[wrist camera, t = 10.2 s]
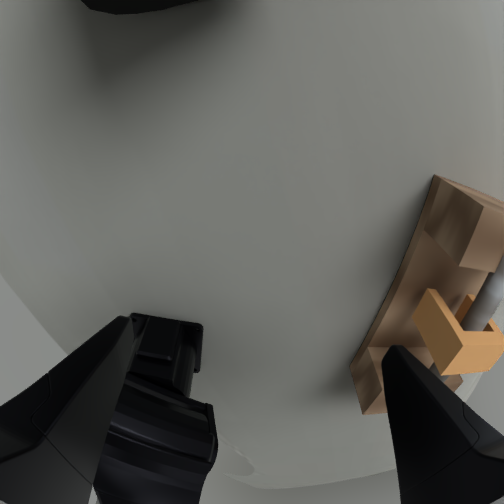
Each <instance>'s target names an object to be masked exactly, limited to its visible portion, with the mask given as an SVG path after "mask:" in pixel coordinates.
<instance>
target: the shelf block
mask: <svg viewBox="0 0 504 504" xmlns="http://www.w3.org/2000/svg"><path fill="white" fill-rule="evenodd" d="M427 288H429V289H436V290H437V292H438V293H439V294H440V296H441V297H442V299H443V300H444V302H445V303H446V305H447V306H448V308H449V309H450V311H451V312H452V314H453V315H454V316H455V314H456V312H457V311H458V309H459V307H460V306H461V304H462V302H463V300H464V299H465V297H466V295H467V294H472V295H474V296H475V297H476V298H475V299H474V301H473V303H472V305H471V306H470V308H469V310H468V311H467V313H466V315H465V316H464V318H463V320H462V321H461V323H460V324H459V325H460V326H461V328H462V329H463V331H483V329H484V328H485V326H486V325H487V323H488V322H489V320H490V319H491V317H492V315H493V314H494V312H495V311H496V309H497V307H498V306H499V304H500V302H501V300H502V299H503V297H504V202H502V201H500V200H498V199H496V198H493V197H491V196H489V195H486V194H484V193H482V192H479V191H477V190H474V189H472V188H469V187H467V186H464V185H462V184H459V183H457V182H454V181H451V180H449V179H446V178H443V177H440V176H438V175H435V174H434V177H433V181H432V184H431V187H430V190H429V193H428V196H427V199H426V202H425V205H424V207H423V210H422V213H421V216H420V219H419V221H418V224H417V227H416V229H415V232H414V234H413V237H412V239H411V242H410V244H409V247H408V249H407V252H406V254H405V257H404V259H403V261H402V264H401V266H400V268H399V270H398V273H397V275H396V277H395V279H394V282H393V284H392V286H391V288H390V290H389V292H388V294H387V297H386V299H385V301H384V303H383V305H382V307H381V309H380V311H379V313H378V315H377V317H376V319H375V321H374V323H373V325H372V327H371V328H370V330H369V332H368V334H367V336H366V338H365V340H364V342H363V343H362V345H361V347H360V349H359V351H358V352H357V354H356V356H355V358H354V359H353V361H352V363H351V365H350V370H351V373H352V377H353V381H354V384H355V388H356V391H357V395H358V399H359V403H360V406H361V410H362V414H363V415H368V414H380V413H387V408H386V402H385V396H384V386H383V377H382V368H381V362H382V359H383V357H384V355H385V354H386V352H387V351H388V349H389V347H390V346H391V345H393V344H400V345H403V346H404V347H405V348H406V349H407V350H408V351H410V352H411V353H412V354H413V355H414V356H415V357H416V358H417V359H418V360H419V361H421V362H422V363H423V364H424V365H425V366H426V367H427V368H428V369H429V370H430V371H431V372H432V373H434V374H435V375H436V376H437V377H438V378H439V379H440V380H441V381H442V382H443V383H444V384H445V385H447V386H448V387H449V388H450V389H451V390H452V391H453V392H455V390H456V389H457V388H458V387H459V386H460V385H461V384H462V382H463V380H462V378H461V376H460V374H455V375H442V376H441V375H440V373H439V371H438V369H437V367H436V365H435V363H434V360H433V358H432V356H431V354H430V352H429V350H428V348H427V346H426V344H425V342H424V340H423V338H422V336H421V334H420V332H419V330H418V328H417V326H416V324H415V323H414V321H413V319H412V315H413V314H414V312H415V310H416V308H417V306H418V305H419V303H420V301H421V299H422V297H423V295H424V293H425V292H426V290H427Z"/></svg>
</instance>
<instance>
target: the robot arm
mask: <svg viewBox="0 0 504 504" xmlns="http://www.w3.org/2000/svg"><path fill="white" fill-rule="evenodd" d="M134 318H135V319H134ZM197 329H199V330H197ZM202 339H203V326H202V325H201V324H199V323H192V322H186V321H179V320H173V319H167V318H161V317H155V316H149V315H144V314H138V313H131V314H130V316H129V317H125V316H118V317H116V318H115V319H114V320H113V321H111V322H110V323H109V324H107V325H106V326H105V327H104V328H102V329H101V330H100V331H99V332H97V333H96V334H95V335H93V336H92V337H91V338H90V339H88V340H87V341H86V342H85V343H83V344H82V345H81V346H80V347H78V348H77V349H76V350H75V351H73V352H72V353H71V354H70V355H68V356H67V357H66V358H65V359H63V360H62V361H61V362H60V363H58V364H57V365H56V366H55V367H53V368H52V369H51V370H50V371H49V372H48V373H46V374H45V375H44V376H42V377H41V378H40V379H39V380H37V381H36V382H35V383H33V384H32V385H31V386H30V387H28V388H27V389H25V390H24V391H23V392H21V393H20V394H18V395H17V396H15V397H14V398H12V399H11V400H9V401H8V402H6V403H4V404H3V405H2V406H0V504H88V502H89V498H90V493H91V490H92V484H93V487H94V490H95V492H96V495H97V502H96V504H199V500H200V496H201V491H202V487H203V484H204V481H205V479H206V476H207V474H208V473H209V471H210V470H211V468H212V467H213V465H214V463H215V460H216V457H217V452H218V438H217V432H216V425H215V419H214V412H213V405H211V404H208V403H202V402H199V401H196V400H193V399H191V398H189V397H190V391H191V384H192V378H193V373H198V372H200V365H201V351H202ZM132 345H133V346H132ZM381 368H382V377H383V386H384V396H385V402H386V408H387V413H388V418H389V423H390V429H391V435H392V440H393V446H394V453H395V459H396V466H397V473H398V481H399V489H400V494H401V495H400V499H401V504H504V436H503V435H502V434H501V433H499V432H498V431H497V430H496V429H495V428H493V427H492V426H491V425H490V424H488V423H487V422H486V421H485V420H484V419H482V418H481V417H480V416H479V415H477V414H476V413H475V412H474V411H473V410H472V409H471V408H470V407H469V406H468V405H466V403H465V402H463V401H462V400H461V399H460V398H459V397H458V396H457V395H456V394H455V393H454V392H453V391H452V390H451V389H450V388H449V387H448V386H447V385H445V384H444V383H443V382H442V381H441V380H440V379H439V378H438V377H437V376H436V375H435V374H434V373H432V372H431V371H430V370H429V369H428V368H427V367H426V366H425V365H424V364H423V363H422V362H421V361H419V360H418V359H417V358H416V357H415V356H414V355H413V354H412V353H411V352H410V351H408V350H407V349H406V348H405V347H404V346H403V345H400V344H393V345H391V346H390V347H389V349H388V351H387V352H386V354H385V355H384V357H383V359H382V362H381Z"/></svg>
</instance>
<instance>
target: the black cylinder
mask: <svg viewBox="0 0 504 504" xmlns="http://www.w3.org/2000/svg"><path fill="white" fill-rule="evenodd" d="M81 1H82V2H83V3H84V4H85V5H86V6H87V7H88V8H89V9H91V10H96V11H101V12H106V13H111V14H115V15H118V14H138V13H144V12H150V11H157V10H164V9H167V8H171V7H174V6H178V5H182V4H186V3H190V2H194V1H198V0H81Z"/></svg>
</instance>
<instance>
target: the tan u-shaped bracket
mask: <svg viewBox="0 0 504 504" xmlns="http://www.w3.org/2000/svg"><path fill="white" fill-rule="evenodd" d="M475 298H476V297H475V296H474V295H472V294H467V295H466V297H465V299H464V300H463V302H462V304H461V306H460V307H459V309H458V311H457V312H456V314H455V316H454V315H453V314H452V312H451V311H450V309H449V308H448V306H447V305H446V303H445V302H444V300H443V299H442V297H441V296H440V294H439V293H438V292H437V290H436V289H429V288H427V290H426V292H425V293H424V295H423V297H422V299H421V301H420V303H419V305H418V306H417V308H416V310H415V312H414V314H413V315H412V319H413V321H414V323H415V324H416V326H417V328H418V330H419V332H420V334H421V336H422V338H423V340H424V342H425V344H426V346H427V348H428V350H429V352H430V354H431V356H432V358H433V360H434V363H435V365H436V367H437V369H438V371H439V373H440V375H441V376H442V375H455V374H466V373H475V372H484V371H489V370H490V369H491V368H492V366H493V365H494V364H495V362H496V361H497V360H498V358H499V357H500V356H501V355H502V353H503V352H504V336H503V334H502V332H501V331H500V330H499V328H498V327H497V325H496V324H495V322H494V321H493V320H492V318H491V319H490V320H489V322H488V323H487V325H486V326H485V328H484V329H483V331H463V329H462V328H461V326H460V325H459V324H460V323H461V321H462V320H463V318H464V316H465V315H466V313H467V311H468V310H469V308H470V306H471V305H472V303H473V301H474V299H475Z"/></svg>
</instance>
